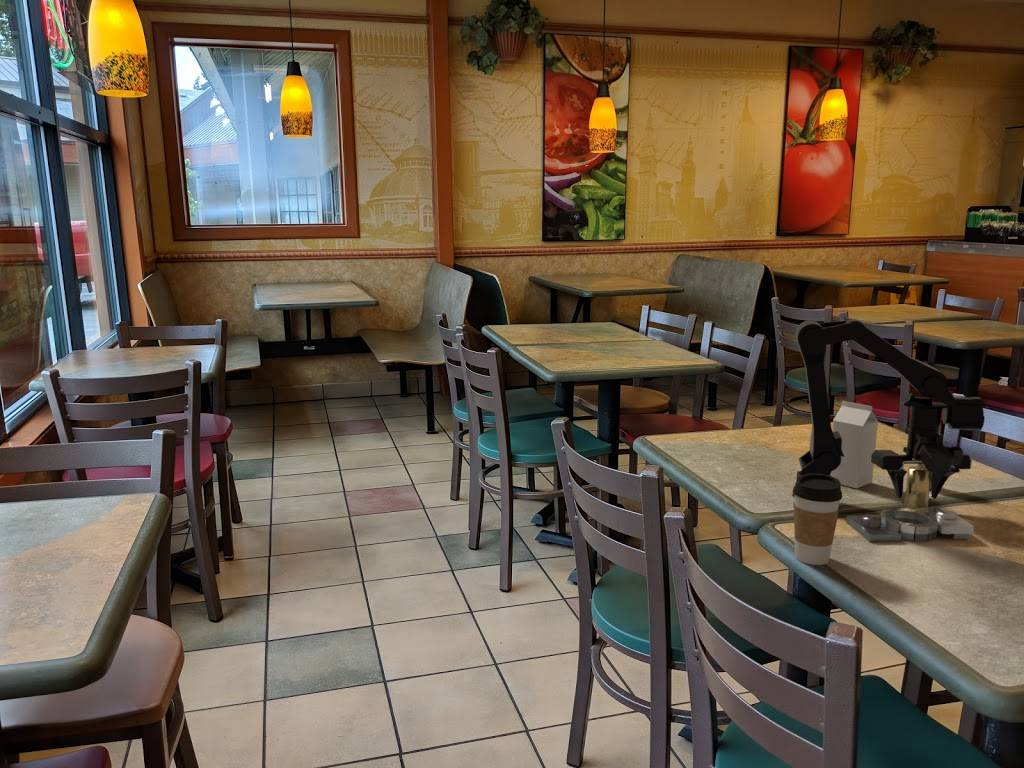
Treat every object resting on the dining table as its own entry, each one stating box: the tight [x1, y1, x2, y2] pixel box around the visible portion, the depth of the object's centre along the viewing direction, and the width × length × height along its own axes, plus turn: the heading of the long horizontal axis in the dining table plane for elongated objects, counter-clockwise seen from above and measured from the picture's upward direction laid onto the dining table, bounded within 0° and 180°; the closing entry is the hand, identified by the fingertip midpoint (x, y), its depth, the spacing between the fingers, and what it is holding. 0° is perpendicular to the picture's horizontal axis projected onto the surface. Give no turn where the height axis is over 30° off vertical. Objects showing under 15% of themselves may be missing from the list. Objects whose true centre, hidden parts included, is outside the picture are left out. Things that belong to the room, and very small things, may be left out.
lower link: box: [846, 513, 938, 543], centre depth 157 cm, size 15×10×3 cm, turn 92°
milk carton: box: [830, 400, 879, 489], centre depth 185 cm, size 7×7×19 cm
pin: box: [903, 465, 931, 510], centre depth 169 cm, size 4×4×9 cm
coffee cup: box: [792, 474, 843, 566], centre depth 144 cm, size 8×8×15 cm
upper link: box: [880, 507, 975, 540], centre depth 157 cm, size 15×10×4 cm, turn 92°
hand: (916, 498), depth 169 cm, fingers open, 7 cm apart
